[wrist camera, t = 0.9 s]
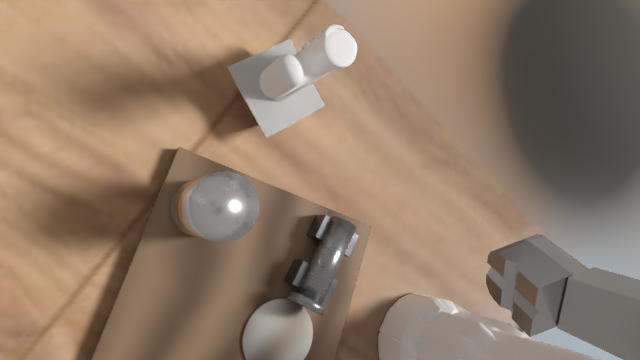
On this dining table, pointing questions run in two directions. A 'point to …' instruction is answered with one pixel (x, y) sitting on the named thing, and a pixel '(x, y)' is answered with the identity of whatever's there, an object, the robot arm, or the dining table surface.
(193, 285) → the walnut base board
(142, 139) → the dining table surface
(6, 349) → the dining table surface
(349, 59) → the white peg on base
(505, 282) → the robot arm
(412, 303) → the decorative vase
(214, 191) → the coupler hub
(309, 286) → the steel shaft
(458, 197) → the dining table surface
